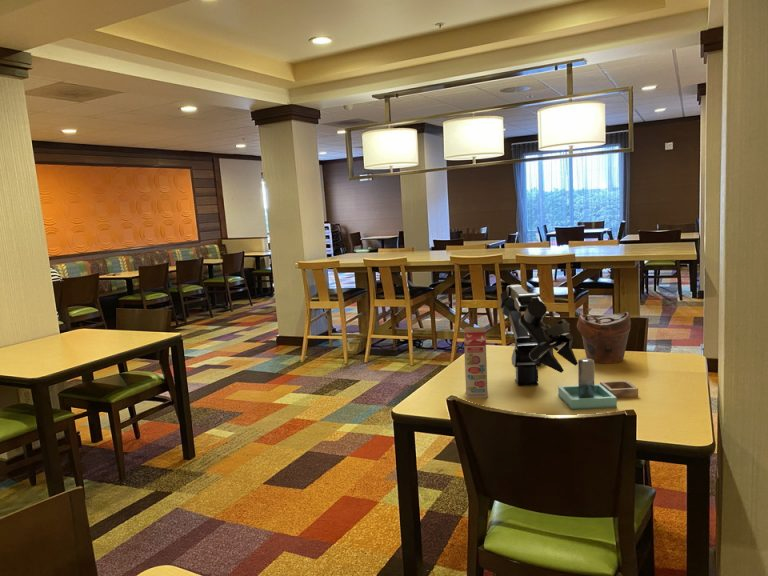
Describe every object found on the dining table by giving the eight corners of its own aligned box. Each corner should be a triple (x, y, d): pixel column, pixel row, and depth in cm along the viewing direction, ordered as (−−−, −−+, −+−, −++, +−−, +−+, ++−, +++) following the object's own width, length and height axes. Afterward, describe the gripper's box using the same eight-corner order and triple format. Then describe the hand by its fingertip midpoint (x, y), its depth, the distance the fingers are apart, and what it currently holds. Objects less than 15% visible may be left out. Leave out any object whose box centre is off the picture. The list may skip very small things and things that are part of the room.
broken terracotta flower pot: (566, 357, 226) (566, 311, 223) (606, 350, 233) (607, 306, 231) (599, 369, 210) (600, 319, 207) (642, 361, 217) (643, 313, 214)
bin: (571, 410, 170) (571, 400, 170) (558, 395, 183) (558, 386, 183) (616, 407, 170) (616, 397, 170) (600, 393, 183) (600, 384, 183)
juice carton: (466, 391, 193) (464, 325, 190) (487, 391, 192) (485, 325, 189) (466, 397, 186) (463, 329, 183) (487, 397, 185) (485, 329, 182)
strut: (579, 401, 175) (578, 362, 174) (577, 396, 180) (577, 358, 178) (595, 401, 174) (595, 362, 173) (593, 397, 178) (593, 358, 177)
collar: (610, 398, 179) (610, 390, 178) (599, 389, 187) (599, 381, 187) (638, 396, 178) (638, 388, 178) (626, 388, 187) (626, 380, 187)
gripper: (537, 317, 174) (573, 359, 168) (567, 307, 188) (601, 345, 181) (514, 340, 181) (548, 381, 175) (545, 329, 194) (577, 366, 188)
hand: (569, 368), depth 180 cm, fingers open, 9 cm apart
